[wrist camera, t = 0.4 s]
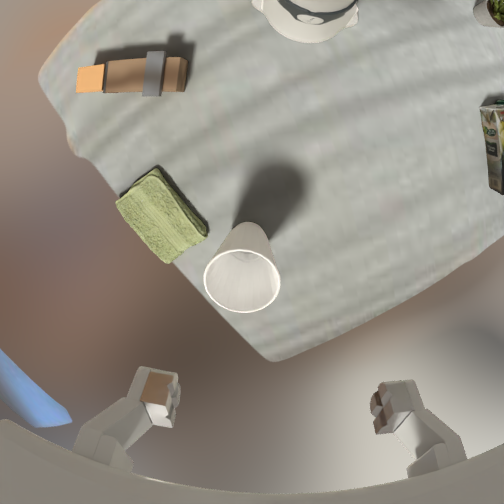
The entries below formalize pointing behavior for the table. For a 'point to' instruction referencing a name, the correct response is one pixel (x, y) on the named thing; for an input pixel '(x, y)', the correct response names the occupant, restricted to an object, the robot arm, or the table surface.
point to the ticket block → (146, 74)
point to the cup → (243, 271)
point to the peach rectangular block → (90, 78)
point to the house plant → (490, 13)
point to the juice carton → (494, 143)
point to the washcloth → (161, 217)
